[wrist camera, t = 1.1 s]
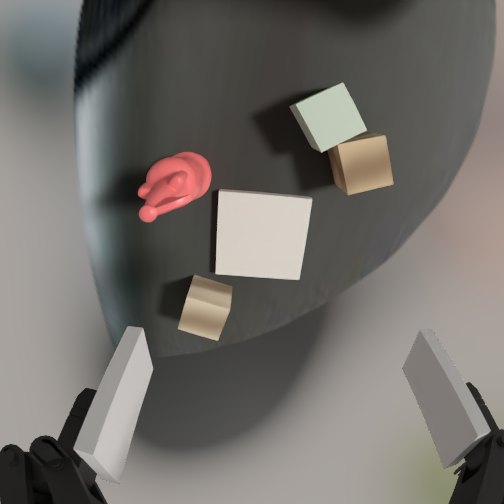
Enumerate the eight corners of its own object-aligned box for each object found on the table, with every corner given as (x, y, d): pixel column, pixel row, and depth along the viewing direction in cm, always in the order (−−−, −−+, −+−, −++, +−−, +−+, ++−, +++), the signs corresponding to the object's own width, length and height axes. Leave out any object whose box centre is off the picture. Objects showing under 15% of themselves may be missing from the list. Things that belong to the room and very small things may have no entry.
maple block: (194, 274, 37) (186, 296, 32) (232, 286, 38) (230, 309, 33) (185, 305, 39) (177, 328, 34) (221, 315, 40) (217, 340, 35)
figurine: (208, 140, 30) (173, 159, 16) (222, 184, 32) (200, 238, 19) (164, 155, 31) (101, 187, 17) (179, 198, 33) (130, 257, 19)
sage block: (288, 106, 28) (295, 104, 24) (329, 87, 27) (343, 82, 23) (311, 147, 30) (321, 152, 26) (350, 127, 29) (367, 130, 25)
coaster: (219, 189, 32) (218, 191, 31) (310, 196, 33) (312, 199, 32) (216, 269, 37) (215, 273, 36) (297, 275, 37) (299, 279, 36)
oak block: (325, 140, 30) (337, 144, 25) (366, 131, 29) (385, 135, 25) (334, 183, 32) (348, 195, 28) (375, 174, 31) (393, 184, 27)
